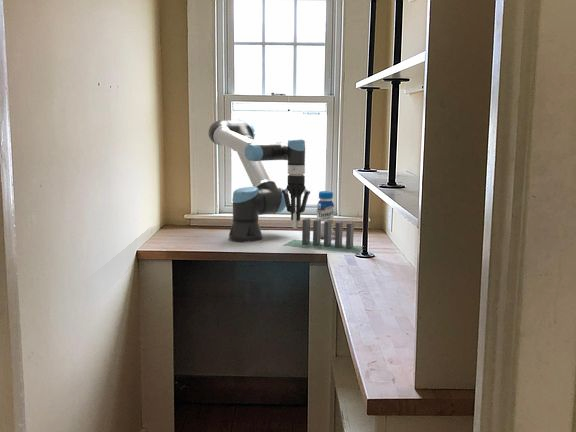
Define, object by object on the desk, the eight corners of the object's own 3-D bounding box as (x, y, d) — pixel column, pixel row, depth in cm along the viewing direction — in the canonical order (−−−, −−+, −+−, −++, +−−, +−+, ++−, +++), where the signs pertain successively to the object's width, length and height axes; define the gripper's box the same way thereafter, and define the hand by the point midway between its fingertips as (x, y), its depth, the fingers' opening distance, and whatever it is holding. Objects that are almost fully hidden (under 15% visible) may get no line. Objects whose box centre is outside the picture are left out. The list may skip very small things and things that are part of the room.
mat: (281, 246, 258) (281, 245, 258) (293, 240, 271) (293, 239, 271) (357, 254, 246) (357, 253, 246) (366, 247, 259) (366, 246, 259)
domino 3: (323, 246, 258) (324, 221, 256) (327, 244, 262) (327, 219, 260) (327, 247, 257) (328, 222, 255) (331, 244, 262) (331, 220, 260)
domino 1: (302, 244, 261) (302, 219, 259) (305, 242, 266) (306, 218, 264) (305, 244, 261) (306, 220, 259) (309, 242, 265) (310, 218, 263)
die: (336, 238, 279) (328, 221, 283) (336, 233, 271) (328, 214, 274) (320, 245, 279) (312, 227, 282) (319, 239, 271) (312, 221, 274)
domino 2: (312, 245, 259) (313, 220, 258) (316, 243, 264) (317, 218, 262) (316, 245, 259) (317, 221, 257) (320, 243, 263) (321, 219, 261)
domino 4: (334, 247, 256) (335, 222, 254) (338, 245, 260) (338, 220, 258) (338, 248, 255) (339, 223, 253) (342, 245, 260) (342, 221, 258)
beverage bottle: (332, 230, 295) (333, 190, 292) (334, 234, 287) (335, 193, 283) (315, 230, 294) (316, 190, 291) (317, 234, 286) (318, 193, 283)
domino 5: (345, 248, 254) (346, 223, 252) (349, 246, 259) (349, 221, 257) (349, 249, 253) (350, 224, 251) (353, 247, 258) (354, 222, 256)
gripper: (279, 174, 259) (278, 228, 263) (307, 176, 254) (306, 230, 258) (285, 173, 266) (285, 225, 269) (313, 174, 261) (312, 227, 265)
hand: (295, 227), depth 264 cm, fingers closed
